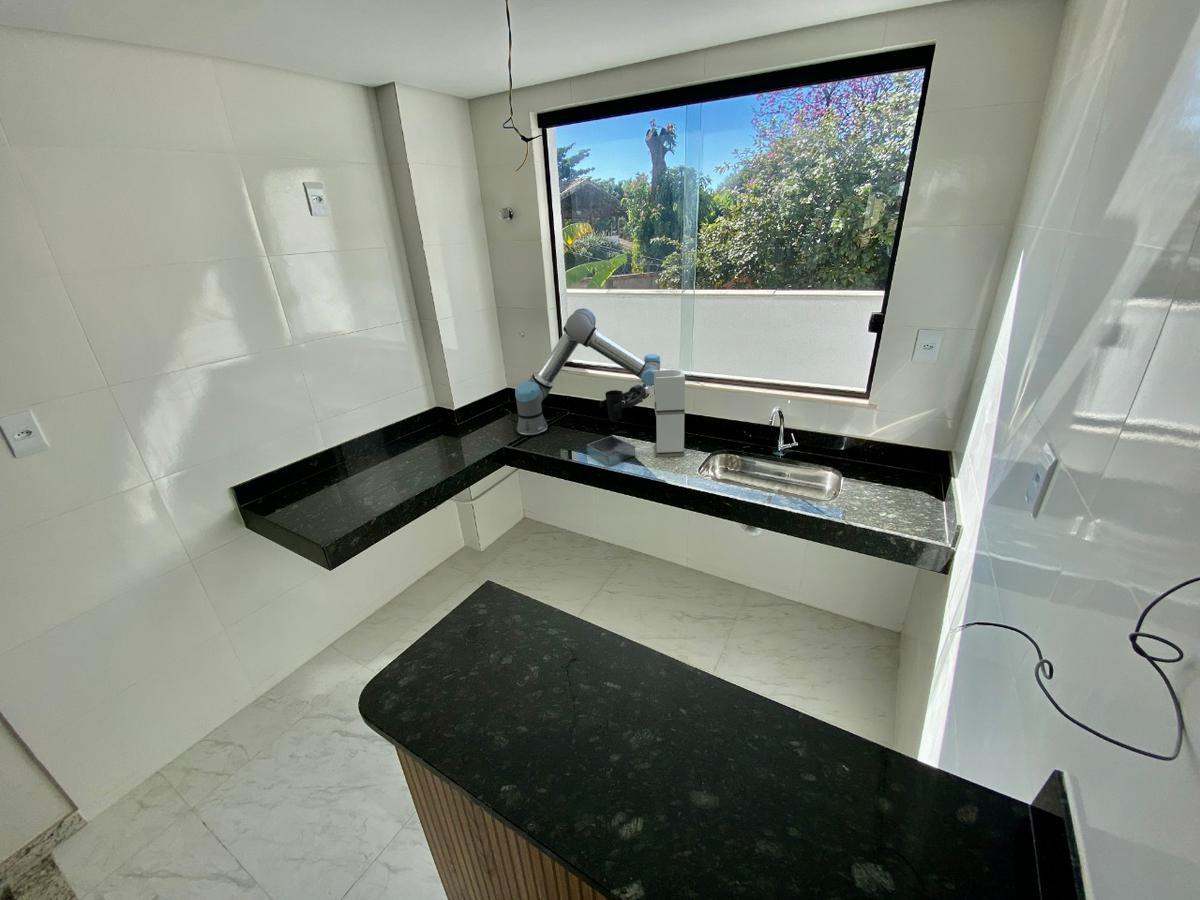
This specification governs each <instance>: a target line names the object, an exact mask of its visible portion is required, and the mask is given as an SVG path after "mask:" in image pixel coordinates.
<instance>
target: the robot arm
mask: <svg viewBox="0 0 1200 900" xmlns="http://www.w3.org/2000/svg"><path fill="white" fill-rule="evenodd" d="M596 323H597V319H596V316H595V314H594V313H593V311H592V310H590V309H588V308H586V307H585V308H584V307H581V308H578V309H575V310H574V312H573V313H572V314H570V315H569V316H568V317H567V319H566V321H565V325H564V326H563V328H562V331H563V334H562V335H561V337H560V338H559V340H558V341H557V343H556V344H555V345H554V347H553V349H552V351H551V352H550V353H549V355H548V356H547V358H546V359H545V361H544V362H543V364H542V366H541V367H540V368H539V370H535V371H534V372H533V373H532V375H531V376H530V378H529V379H528V381H525V382H522V383H519V384H518V385H517V386H515V389H514V392H515V393H514V397H515V401H516V406H517V415H518V419H515V418H513V417H511V416H512V411H511V410H509V409H507V408H504V409H505V410H504V411H506V412H508V413H509V415H508V419H510V420H511V421H515V422H517V424H516V433H517V435H519V436H521V437H537V436H540V435H543V434H545V433H547V431H548V430H549V426H548V423H547V421H546V419H545V417H544V415H543V407H542V403H543V401H544V400H545V398H546V397H547V396H548V395H549V393H550V392H551V390H552V388H553V387H554V385H555V383H554V380H555V379H556V377H558V374H559V373H560V372H561V370H562V369H563V367H564V366H565V364H566V363H567V361H568V360H569V358H570V357H571V356H572V354H573V353H574V351H575V350H576V348H577V347H578V345H582V346H583V347H585V348H591V349H592V350H594V351H596V352H597V353H599V354H600V355H602V356H604V357H605V358H607V359H608V360H610V361H611V362H614V363H615V364H616V365H618V366H619V367H621V368H623V369H624V370H626V371H628V372H629V373H631V374H632V375H634V376H636V377H637V378H639V379H640V380H641V383H644V384H641V383H639V384H636V385H634V386H631V387H630V388H629V389H628V391H625V392H623V390H620V391H621V392H622V402H621V403H618V404H616V405H614V406H613V411H614V412H615V411H618V410H620V409H624V408H629V409H631V408H633V407H635V406H637V405H639V404H640V403H643V401H644V400H646V399H648V398H649V397H648V396H649V394H650V393H649V389H648V387H647V386H652V385H654V370H661V356H660V355H658V354H657V353H655V354H654V353H650V354H649V353H648V354H646V355H645V356H644V358H643V359H642V358H640V357H638V356H637V355H636V354H635V353H633V352H631V351H629V350H627V349H626V348H625V347H623V346H621V345H620V344H618V343H616V342H615V341H613V339H610V338H609V337H607V336H605V334H603V333H601V332H599V328H597V327H596ZM646 385H647V386H646ZM647 397H648V398H647ZM643 399H644V400H643ZM598 403H599V409H602V408H604V407H607V402H606V398H605V399H603V400H601V401H599V402H598ZM502 409H503V408H502ZM502 409H501V408H500V412H503V410H502ZM508 410H509V411H508Z"/></svg>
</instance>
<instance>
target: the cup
mask: <svg viewBox="0 0 1200 900" xmlns="http://www.w3.org/2000/svg"><path fill="white" fill-rule="evenodd" d="M621 391H622V390H618V389H617V390H616V389H613V390H608V391H606V392H605V393H604V394H605V399H606V402H607V405H606V407H607V408H606V409H607V414H608V419H609V420H611V421H619V420H621V419H622V412H623V411H622V409H623V408H622V409H620V410H618V411H615V412H614V411H613V406H614V405H616V404H618V403H621V402H623V401H622V393H623V391H622V392H621Z"/></svg>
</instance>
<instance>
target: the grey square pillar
mask: <svg viewBox="0 0 1200 900" xmlns="http://www.w3.org/2000/svg"><path fill="white" fill-rule="evenodd" d="M653 396H654V411H655V412H654V413H655V417H656V418H655V419H656V420H655V421H656V423H655V424H656V425H655V426H656V441H655V442H654V448H655V454H656V457H657V458H663V457H684V456H685V417H686V416H685V415H686V413H685V412H686V411H685V406H686V404H685V403H686V376H685V373H684V371H683V369H682V368H672V369H671V368H670V369H660V370H654V395H653Z"/></svg>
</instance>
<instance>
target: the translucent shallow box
mask: <svg viewBox="0 0 1200 900" xmlns="http://www.w3.org/2000/svg"><path fill="white" fill-rule="evenodd" d="M586 454H587V455H588V456H590V457H592V458H593V459H595V460H597V461H599V462H601V463H602V464H604V465H605V466H607V467H611V466H613V465H616V464H619V463H621V462H624V461H626V460H628V459H631V458H633V457H636V446H635V445H632V444H630V443H628V442H626V441H624V440H622V439H621V438H618V437H616V436H614V435H609V436H607V437H604V438H601V439H598V440H595V441H593V442H590V443H587V444H586Z"/></svg>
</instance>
